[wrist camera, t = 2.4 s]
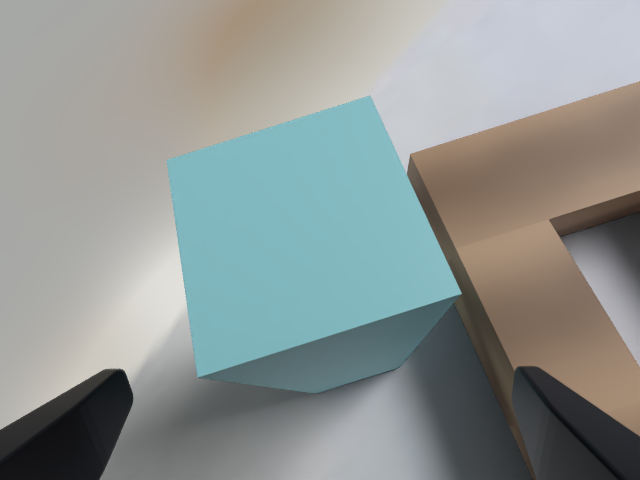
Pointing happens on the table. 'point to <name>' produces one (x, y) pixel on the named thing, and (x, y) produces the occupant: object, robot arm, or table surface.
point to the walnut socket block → (538, 244)
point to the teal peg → (306, 253)
